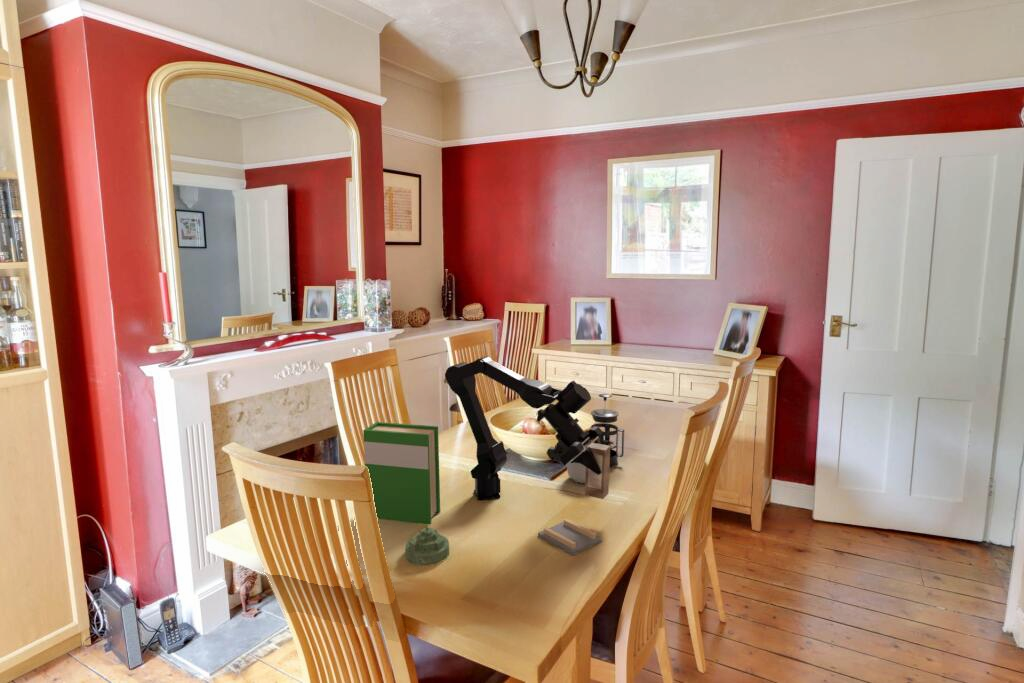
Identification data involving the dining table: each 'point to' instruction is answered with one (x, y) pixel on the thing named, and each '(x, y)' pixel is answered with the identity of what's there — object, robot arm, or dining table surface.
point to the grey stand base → (570, 537)
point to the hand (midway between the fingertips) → (602, 470)
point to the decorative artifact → (427, 547)
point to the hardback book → (403, 470)
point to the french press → (608, 429)
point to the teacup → (576, 471)
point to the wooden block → (599, 483)
